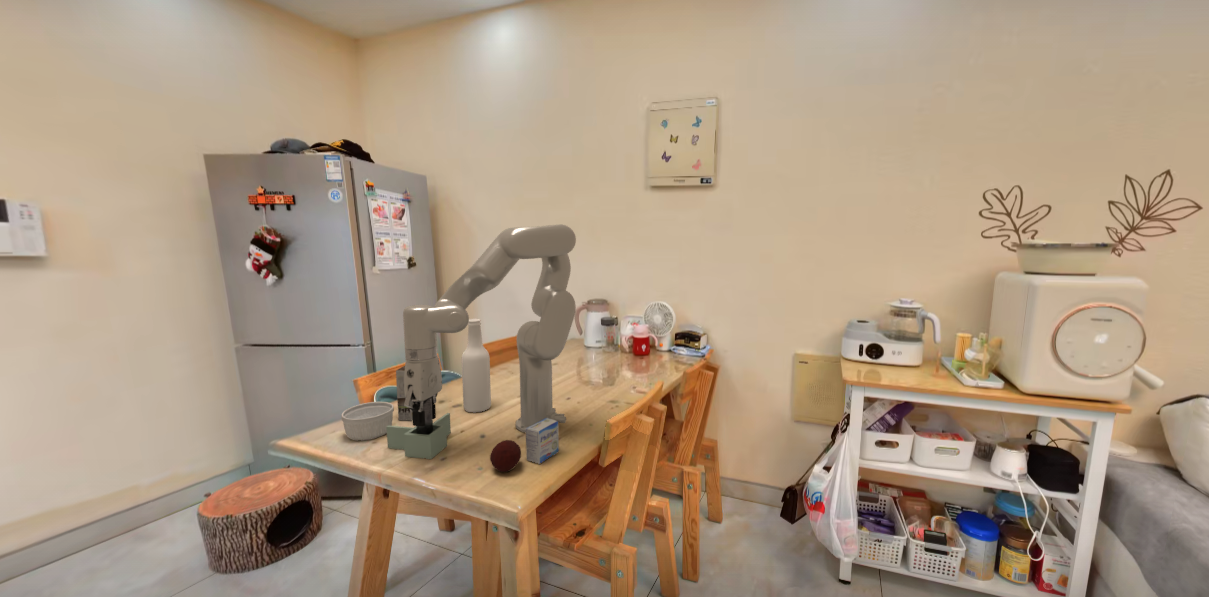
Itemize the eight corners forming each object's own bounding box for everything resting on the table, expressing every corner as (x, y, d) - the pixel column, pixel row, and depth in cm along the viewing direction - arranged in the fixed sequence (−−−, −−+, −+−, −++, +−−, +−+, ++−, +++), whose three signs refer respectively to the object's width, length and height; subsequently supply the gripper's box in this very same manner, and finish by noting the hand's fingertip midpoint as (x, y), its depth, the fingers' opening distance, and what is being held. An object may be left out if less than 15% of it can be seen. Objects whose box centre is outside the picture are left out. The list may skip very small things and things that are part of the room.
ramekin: (366, 446, 116) (364, 421, 115) (331, 438, 120) (329, 415, 119) (405, 427, 128) (403, 404, 127) (371, 420, 132) (370, 399, 132)
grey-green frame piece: (461, 433, 123) (460, 413, 122) (431, 459, 108) (429, 436, 108) (414, 429, 126) (413, 410, 125) (379, 453, 111) (377, 431, 110)
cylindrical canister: (436, 434, 114) (434, 390, 112) (427, 440, 110) (425, 395, 108) (422, 433, 114) (420, 389, 113) (413, 439, 111) (411, 394, 109)
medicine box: (539, 465, 106) (538, 431, 105) (525, 460, 108) (525, 427, 107) (559, 452, 112) (558, 420, 111) (546, 448, 115) (545, 417, 114)
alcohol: (481, 414, 137) (477, 322, 133) (458, 411, 140) (454, 321, 136) (496, 405, 145) (493, 318, 141) (474, 402, 148) (470, 316, 144)
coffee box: (418, 421, 132) (415, 370, 130) (397, 420, 132) (394, 370, 130) (430, 409, 141) (428, 362, 139) (411, 409, 141) (408, 362, 139)
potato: (522, 458, 109) (521, 432, 108) (520, 475, 101) (519, 447, 100) (492, 459, 108) (492, 433, 107) (488, 477, 100) (487, 449, 99)
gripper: (414, 362, 101) (418, 437, 103) (452, 346, 117) (454, 411, 119) (385, 361, 102) (390, 434, 104) (427, 345, 118) (430, 409, 121)
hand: (424, 421), depth 112 cm, fingers closed on cylindrical canister, 4 cm apart
